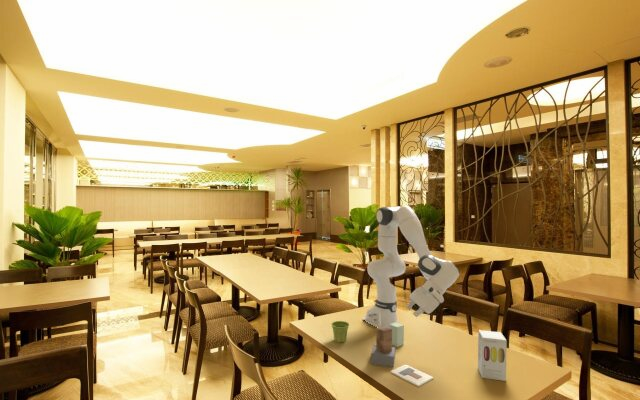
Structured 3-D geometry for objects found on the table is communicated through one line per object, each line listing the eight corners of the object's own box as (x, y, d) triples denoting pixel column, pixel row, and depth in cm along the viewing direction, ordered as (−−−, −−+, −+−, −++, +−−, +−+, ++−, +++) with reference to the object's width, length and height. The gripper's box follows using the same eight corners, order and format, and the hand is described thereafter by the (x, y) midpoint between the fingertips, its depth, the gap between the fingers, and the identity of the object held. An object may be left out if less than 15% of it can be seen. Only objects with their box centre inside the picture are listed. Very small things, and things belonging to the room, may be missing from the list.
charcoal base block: (373, 355, 159) (373, 344, 159) (395, 358, 157) (395, 347, 157) (370, 364, 150) (371, 353, 150) (393, 368, 147) (393, 356, 147)
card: (390, 372, 142) (390, 370, 142) (405, 365, 149) (405, 363, 149) (418, 386, 131) (418, 384, 131) (433, 378, 138) (433, 376, 138)
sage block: (389, 343, 172) (389, 324, 172) (395, 341, 175) (395, 322, 175) (397, 347, 168) (397, 327, 168) (403, 344, 171) (403, 325, 171)
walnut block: (376, 349, 154) (376, 327, 154) (384, 347, 157) (384, 325, 157) (384, 353, 150) (384, 331, 150) (391, 351, 153) (392, 329, 153)
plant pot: (340, 346, 169) (340, 328, 169) (327, 340, 176) (327, 323, 176) (352, 341, 175) (352, 324, 175) (340, 335, 182) (340, 319, 182)
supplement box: (481, 378, 138) (481, 337, 139) (477, 367, 147) (477, 329, 147) (507, 381, 136) (507, 339, 136) (501, 370, 145) (501, 331, 145)
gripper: (419, 280, 165) (399, 300, 164) (435, 291, 145) (413, 314, 144) (427, 289, 165) (408, 309, 165) (445, 301, 145) (423, 324, 144)
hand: (410, 312), depth 154 cm, fingers open, 8 cm apart
